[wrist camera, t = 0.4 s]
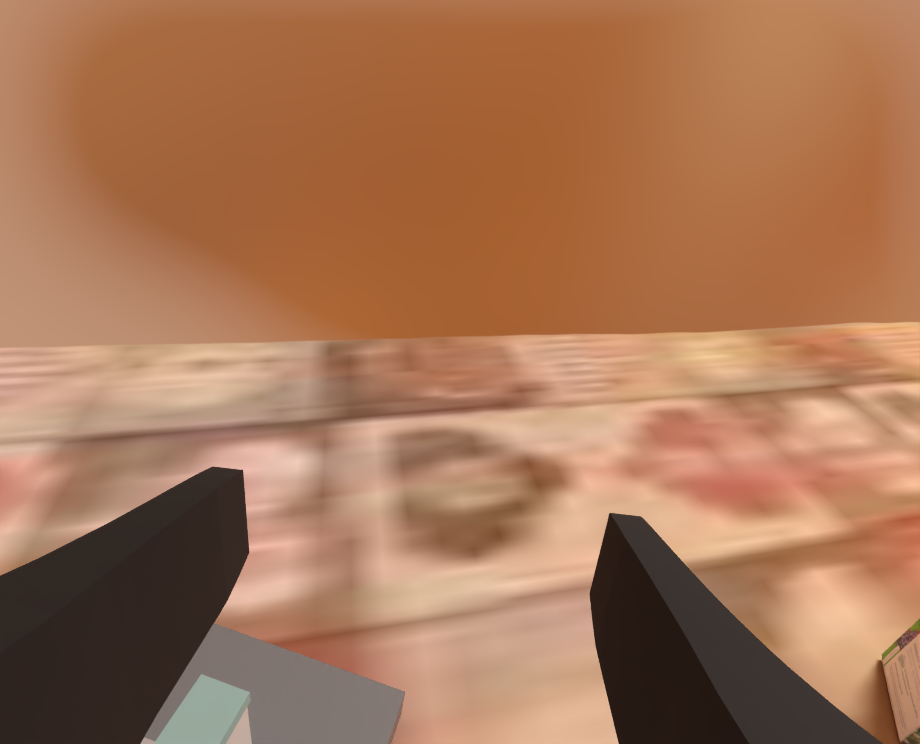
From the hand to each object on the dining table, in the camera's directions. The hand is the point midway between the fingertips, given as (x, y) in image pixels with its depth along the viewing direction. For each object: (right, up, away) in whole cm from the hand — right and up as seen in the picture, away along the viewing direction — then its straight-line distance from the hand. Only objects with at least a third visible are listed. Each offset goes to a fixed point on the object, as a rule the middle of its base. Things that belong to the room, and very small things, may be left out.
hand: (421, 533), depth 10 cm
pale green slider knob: (-9, -13, +10) cm, 19 cm away
